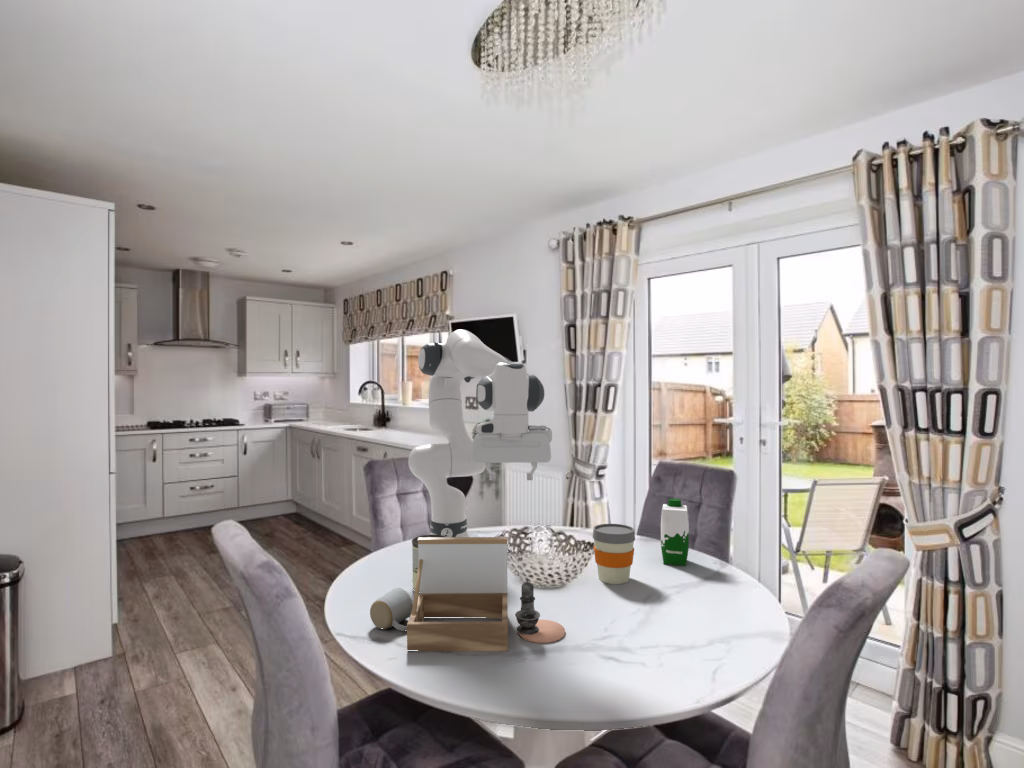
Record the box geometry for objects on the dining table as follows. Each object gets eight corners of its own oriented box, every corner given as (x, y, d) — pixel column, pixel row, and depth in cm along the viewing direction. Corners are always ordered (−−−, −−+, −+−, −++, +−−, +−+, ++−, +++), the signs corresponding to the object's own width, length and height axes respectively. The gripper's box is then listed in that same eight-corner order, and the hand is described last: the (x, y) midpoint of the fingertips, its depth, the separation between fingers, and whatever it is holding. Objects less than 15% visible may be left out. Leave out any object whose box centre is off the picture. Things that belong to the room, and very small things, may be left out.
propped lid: (420, 594, 138) (420, 534, 138) (507, 593, 139) (507, 534, 139) (410, 617, 125) (410, 551, 124) (507, 617, 125) (507, 551, 125)
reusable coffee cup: (639, 586, 158) (639, 534, 158) (595, 586, 158) (595, 534, 158) (630, 571, 171) (630, 523, 171) (590, 571, 171) (590, 523, 171)
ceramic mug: (367, 627, 132) (367, 595, 132) (389, 614, 139) (389, 584, 139) (402, 637, 127) (402, 604, 127) (423, 624, 134) (424, 592, 134)
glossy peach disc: (517, 622, 135) (517, 619, 135) (562, 621, 135) (562, 619, 135) (518, 643, 124) (518, 640, 124) (567, 643, 124) (567, 640, 124)
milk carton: (688, 558, 183) (688, 498, 183) (689, 567, 174) (688, 504, 174) (661, 556, 186) (661, 497, 185) (660, 565, 177) (660, 503, 177)
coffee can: (417, 581, 163) (417, 533, 163) (451, 582, 162) (451, 534, 162) (407, 594, 152) (407, 544, 152) (443, 596, 151) (443, 545, 151)
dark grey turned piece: (526, 621, 133) (526, 572, 133) (545, 629, 130) (545, 578, 129) (510, 630, 129) (509, 579, 129) (528, 637, 125) (528, 585, 125)
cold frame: (419, 616, 138) (419, 592, 138) (507, 616, 138) (507, 592, 138) (407, 651, 120) (407, 624, 120) (507, 651, 120) (507, 623, 120)
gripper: (551, 424, 142) (551, 477, 142) (472, 424, 142) (472, 478, 142) (553, 426, 136) (553, 482, 136) (470, 426, 136) (470, 482, 136)
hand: (511, 480), depth 139 cm, fingers open, 8 cm apart
